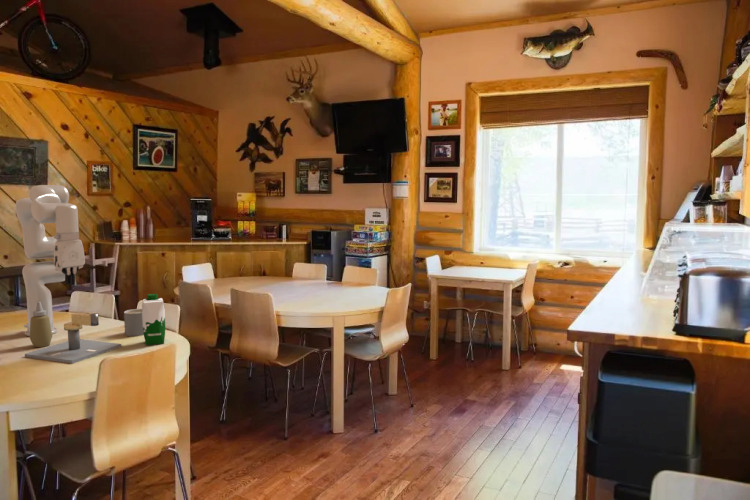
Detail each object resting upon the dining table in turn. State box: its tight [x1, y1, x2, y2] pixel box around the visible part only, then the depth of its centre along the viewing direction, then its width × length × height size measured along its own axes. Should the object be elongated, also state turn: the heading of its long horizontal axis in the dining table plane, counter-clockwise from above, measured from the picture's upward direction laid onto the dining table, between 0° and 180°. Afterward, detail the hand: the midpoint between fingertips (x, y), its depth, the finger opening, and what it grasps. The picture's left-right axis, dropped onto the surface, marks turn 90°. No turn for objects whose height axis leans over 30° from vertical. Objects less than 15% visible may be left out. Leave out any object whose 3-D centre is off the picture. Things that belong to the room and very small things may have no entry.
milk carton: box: [141, 293, 166, 346], centre depth 242 cm, size 9×9×20 cm
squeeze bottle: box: [29, 302, 53, 348], centre depth 237 cm, size 8×8×18 cm
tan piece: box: [63, 312, 100, 332], centre depth 227 cm, size 6×15×6 cm, turn 76°
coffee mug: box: [123, 308, 144, 337], centre depth 259 cm, size 13×10×10 cm
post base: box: [24, 329, 123, 364], centre depth 229 cm, size 24×24×9 cm
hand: (70, 284), depth 223 cm, fingers closed
